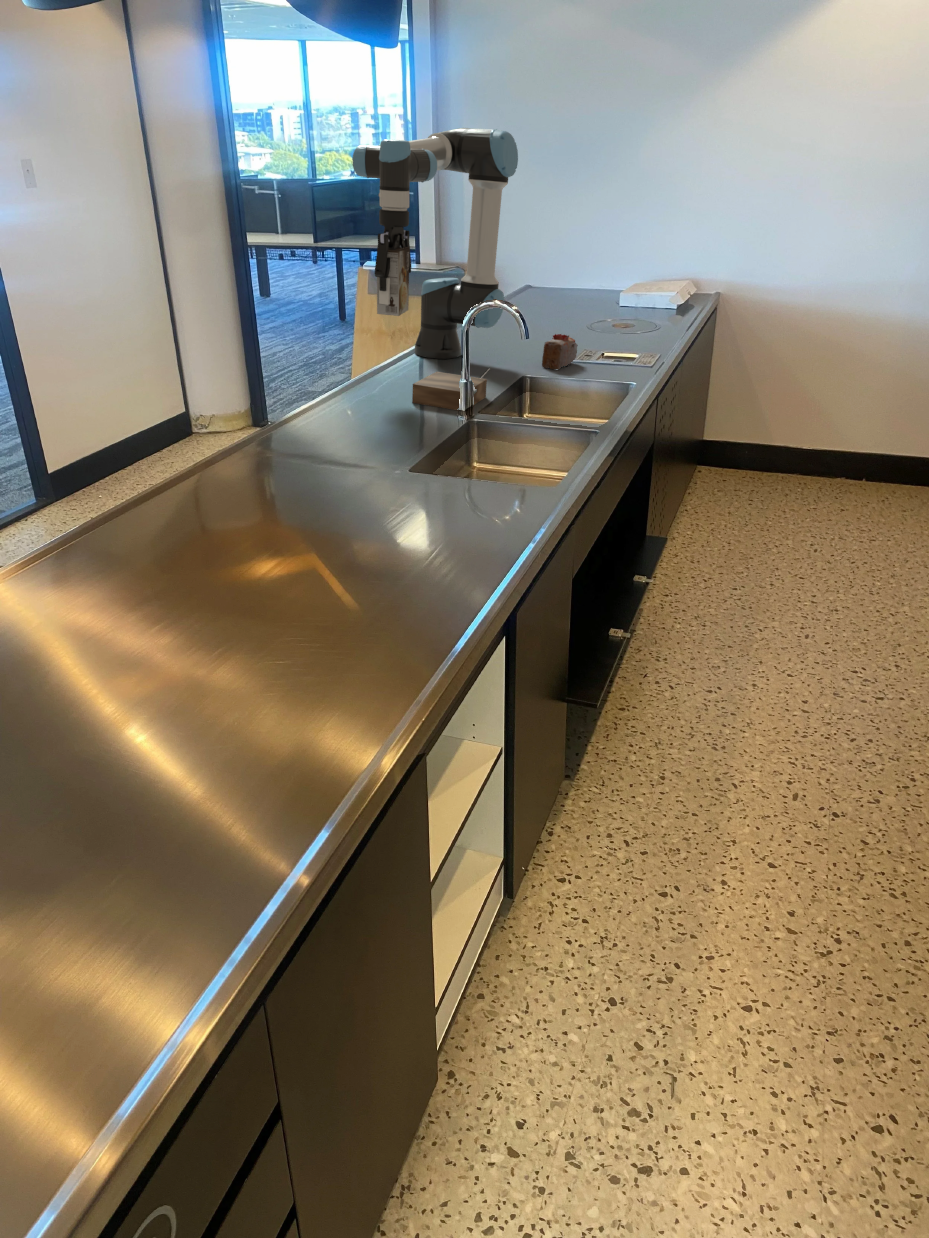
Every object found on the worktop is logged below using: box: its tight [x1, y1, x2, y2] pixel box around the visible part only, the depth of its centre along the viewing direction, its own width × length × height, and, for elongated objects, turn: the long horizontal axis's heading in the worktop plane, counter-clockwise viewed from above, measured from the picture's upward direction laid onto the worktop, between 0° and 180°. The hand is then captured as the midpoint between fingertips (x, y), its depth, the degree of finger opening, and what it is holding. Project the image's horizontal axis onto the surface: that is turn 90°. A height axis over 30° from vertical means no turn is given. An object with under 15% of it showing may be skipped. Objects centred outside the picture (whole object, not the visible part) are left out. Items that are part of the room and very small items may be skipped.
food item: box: [541, 333, 578, 370], centre depth 280 cm, size 14×8×10 cm, turn 154°
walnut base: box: [411, 371, 488, 411], centre depth 239 cm, size 16×15×5 cm
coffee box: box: [376, 246, 411, 317], centre depth 232 cm, size 9×6×16 cm
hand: (393, 301), depth 235 cm, fingers closed on coffee box, 10 cm apart
